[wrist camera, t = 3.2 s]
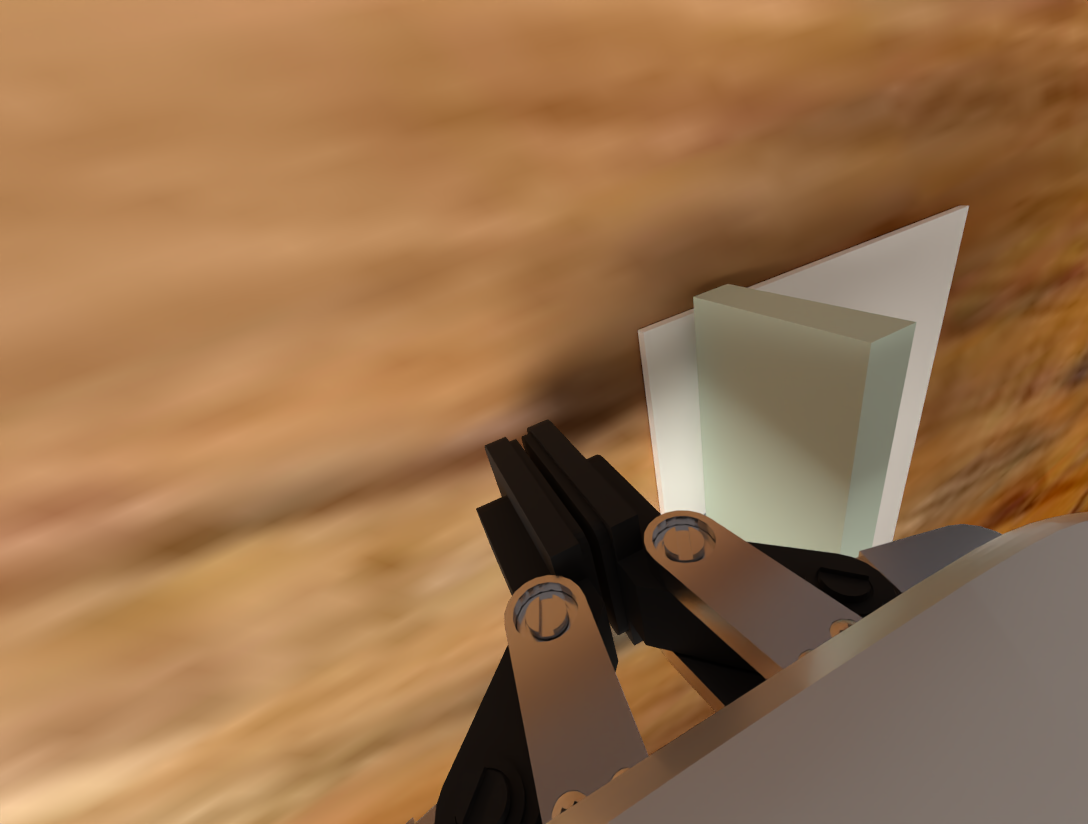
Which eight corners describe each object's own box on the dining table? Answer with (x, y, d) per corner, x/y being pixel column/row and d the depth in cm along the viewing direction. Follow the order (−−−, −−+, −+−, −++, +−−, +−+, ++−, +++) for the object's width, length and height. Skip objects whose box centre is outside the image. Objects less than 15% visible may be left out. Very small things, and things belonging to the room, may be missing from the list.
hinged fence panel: (731, 504, 17) (860, 603, 13) (706, 518, 17) (829, 623, 12) (727, 283, 13) (916, 321, 9) (692, 297, 13) (871, 343, 8)
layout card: (885, 546, 25) (892, 550, 25) (680, 672, 22) (685, 679, 22) (959, 205, 17) (972, 205, 16) (637, 329, 13) (645, 332, 13)
